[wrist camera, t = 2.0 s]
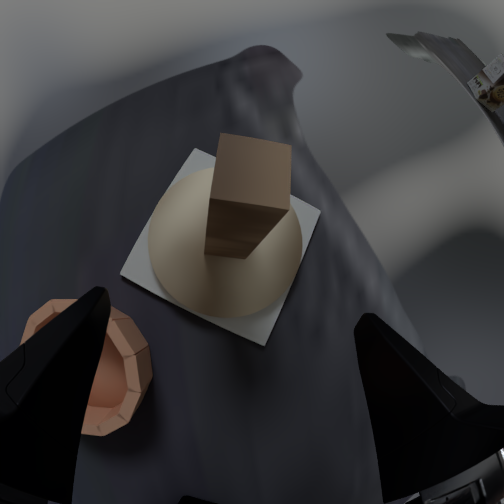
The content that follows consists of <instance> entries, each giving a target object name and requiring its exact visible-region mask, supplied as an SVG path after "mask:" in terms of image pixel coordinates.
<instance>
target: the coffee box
mask: <svg viewBox="0 0 504 504" xmlns="http://www.w3.org/2000/svg"><path fill="white" fill-rule="evenodd" d="M467 84H468V85H469V87H470V89H471V91H472V92H473V94H474V96H475V98H476V99H477V100H478V101H479V102H480V103H481V104H483V105H484V106H485V107H486V108H487V109H489V110H490V111H491V112H494V111H495V110H496V109H498V108H499V107H500V106H502V105H503V104H504V56H503V54H502V53H501V54H500V55H499V56H497V57H496V58H495V59H494V60H493V61H492V62H491V63H490V64H488V65H487V66H486V67H485V68H484V69H483V70H482V71H480V72H479V73H478V74H477V75H476V76H475V77H474V78H472V79H471V80H470V81H469V82H468V83H467Z"/></svg>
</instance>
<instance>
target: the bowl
mask: <svg viewBox="0 0 504 504" xmlns="http://www.w3.org/2000/svg"><path fill="white" fill-rule="evenodd" d="M76 300H78V299H52V300H50V301H48V302H47V303H46V304H45V305H43V306H42V307H41V308H40V309H38V310H37V311H36V312H35V313H34V314H32V315H31V316H30V318H29V319H28V322H27V325H26V328H25V331H24V334H23V337H22V341H21V344H23V343H25V341H26V340H27V339H29V338H30V337H31V336H32V335H33V334H35V333H36V332H37V331H38V330H40V329H41V328H42V327H43V326H44V325H46V324H47V323H48V322H49V321H51V320H52V319H53V318H54V317H56V316H57V315H58V314H60V313H61V312H62V311H63V310H65V309H66V308H67V307H69V306H70V305H71V304H73V303H74V302H75V301H76ZM130 318H131V317H129V316H127V315H126V314H124V313H122V312H120V311H119V310H117V309H115V308H114V307H112V306H111V313H110V318H109V322H108V326H107V331H106V336H105V341H104V346H103V350H102V354H101V358H100V361H99V364H98V368H97V371H96V374H95V378H94V382H93V385H92V389H91V393H90V397H89V401H88V405H87V409H86V413H85V418H84V422H83V427H82V432H81V433H82V434H88V435H96V436H105V435H107V434H108V433H110V432H112V431H114V430H116V429H118V428H120V427H122V426H124V425H126V424H127V423H128V422H129V421H130V420H131V418H132V416H133V415H134V413H135V412H136V410H137V408H138V407H139V405H140V404H141V402H142V400H143V398H144V395H145V393H146V391H147V389H148V386H149V384H150V382H151V380H152V376H153V373H152V366H151V358H150V349H149V346H147V345H149V344H148V343H147V341H146V340H145V338H144V337H143V335H142V334H141V332H140V331H139V329H138V328H137V326H136V325H135V323H134V321H133V320H132V318H131V319H130ZM21 344H20V345H21Z"/></svg>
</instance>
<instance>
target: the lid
mask: <svg viewBox="0 0 504 504" xmlns="http://www.w3.org/2000/svg"><path fill="white" fill-rule="evenodd" d="M290 184H291V145H287V144H282V143H277V142H272V141H267V140H262V139H256V138H250V137H244V136H238V135H232V134H225V133H220V138H219V144H218V149H217V155H216V161H215V167H214V168H207V169H203V170H200V171H197V172H194V173H192V174H190V175H188V176H186V177H184V178H182V179H181V180H179V181H178V182H177V183H175V184H174V185H173V186H172V187H171V188H170V189H169V190H168V191H167V192H166V193H165V194H164V195H163V197H162V198H161V199H160V201H159V203H158V204H157V206H156V208H155V210H154V212H153V215H152V217H151V221H150V225H149V230H148V251H149V257H150V261H151V264H152V267H153V269H154V272H155V274H156V276H157V278H158V279H159V281H160V282H161V284H162V285H163V287H164V288H165V289H166V290H167V291H168V293H169V294H170V295H171V296H172V297H174V298H175V299H176V300H177V301H178V302H180V303H181V304H183V305H184V306H186V307H187V308H189V309H191V310H194V311H196V312H198V313H201V314H204V315H207V316H213V317H219V318H233V317H241V316H246V315H250V314H253V313H255V312H258V311H260V310H262V309H264V308H266V307H267V306H269V305H271V304H272V303H273V302H274V301H276V300H277V299H278V298H279V297H280V296H281V295H282V294H283V293H284V292H285V291H286V290H287V288H288V287H289V286H290V284H291V283H292V281H293V279H294V277H295V275H296V273H297V270H298V268H299V265H300V261H301V257H302V247H303V245H302V232H301V227H300V223H299V220H298V217H297V215H296V213H295V210H294V209H293V207H292V205H291V203H290Z"/></svg>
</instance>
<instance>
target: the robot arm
mask: <svg viewBox="0 0 504 504" xmlns="http://www.w3.org/2000/svg"><path fill="white" fill-rule="evenodd" d="M110 313H111V304H110V299H109V293H108V290H107V288H104V287H98V286H96V287H94V288H93V289H91V290H90V291H88V292H87V293H86V294H84V295H83V296H82V297H80V298H79V299H78V300H76V301H75V302H74V303H73V304H71V305H70V306H69V307H67V308H66V309H65V310H63V311H62V312H61V313H60V314H58V315H57V316H56V317H54V318H53V319H52V320H51V321H49V322H48V323H47V324H46V325H44V326H43V327H42V328H41V329H40V330H38V331H37V332H36V333H35V334H33V335H32V336H31V337H30V338H29V339H27V340H26V341H25V343H23V344H21V345H20V346H19V347H18V348H17V349H16V350H14V351H13V352H12V353H11V354H10V355H8V356H7V357H6V358H5V359H3V360H2V361H1V362H0V504H48V500H49V501H53V502H56V503H60V504H72V493H73V483H74V475H75V468H76V461H77V454H78V448H79V442H80V437H81V432H82V427H83V422H84V418H85V413H86V409H87V405H88V401H89V397H90V393H91V389H92V385H93V382H94V378H95V374H96V371H97V368H98V364H99V361H100V358H101V354H102V350H103V346H104V341H105V336H106V331H107V326H108V322H109V318H110ZM354 338H355V344H356V351H357V358H358V364H359V370H360V374H361V379H362V383H363V387H364V391H365V396H366V400H367V405H368V410H369V415H370V420H371V425H372V430H373V435H374V441H375V447H376V452H377V459H378V466H379V473H380V480H381V488H382V496H383V502H384V504H385V503H388V502H392V501H395V500H398V499H401V498H404V497H407V496H410V495H412V494H415V493H418V492H419V494H420V496H418V497H417V498H415V499H413V500H411V501H409V502H406V503H405V504H504V406H503V405H487V404H483V403H481V402H479V401H478V400H477V399H475V398H474V397H473V396H471V395H470V394H469V393H467V392H466V391H465V390H464V389H462V388H461V387H460V386H459V385H457V384H456V383H455V382H454V381H452V380H451V379H450V378H449V377H448V376H446V375H445V374H444V373H443V372H442V371H441V370H440V369H438V368H437V367H436V366H435V365H434V364H433V363H432V362H431V361H429V360H428V359H427V358H426V357H425V356H424V355H423V354H421V353H420V352H419V351H418V350H417V349H416V348H415V347H413V346H412V345H411V344H410V343H409V342H408V341H406V340H405V339H404V338H403V337H402V336H401V335H399V334H398V333H397V332H396V331H395V330H393V329H392V328H391V327H390V326H389V325H388V324H386V323H385V322H384V321H383V320H382V319H380V318H379V317H378V316H377V315H376V314H374V313H364V314H363V315H362V316H361V318H360V320H359V321H358V323H357V325H356V326H355V328H354ZM186 500H189V501H186ZM178 504H216V503H212V502H208V501H205V500H201V499H197V498H194V497H191V496H183V497H182V498H181V500H180V501H179V503H178Z"/></svg>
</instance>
